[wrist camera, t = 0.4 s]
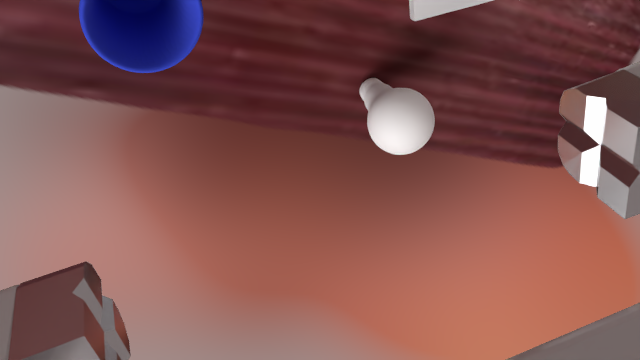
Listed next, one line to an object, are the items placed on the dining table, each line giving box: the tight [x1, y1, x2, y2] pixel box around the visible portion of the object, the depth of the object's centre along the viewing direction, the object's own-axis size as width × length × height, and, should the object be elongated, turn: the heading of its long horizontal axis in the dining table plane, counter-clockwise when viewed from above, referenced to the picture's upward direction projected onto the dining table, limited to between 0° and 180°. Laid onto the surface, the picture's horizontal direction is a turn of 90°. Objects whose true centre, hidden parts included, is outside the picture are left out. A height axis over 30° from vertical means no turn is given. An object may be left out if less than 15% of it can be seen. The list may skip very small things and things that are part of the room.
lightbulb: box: [360, 78, 435, 155], centre depth 58 cm, size 6×6×11 cm
